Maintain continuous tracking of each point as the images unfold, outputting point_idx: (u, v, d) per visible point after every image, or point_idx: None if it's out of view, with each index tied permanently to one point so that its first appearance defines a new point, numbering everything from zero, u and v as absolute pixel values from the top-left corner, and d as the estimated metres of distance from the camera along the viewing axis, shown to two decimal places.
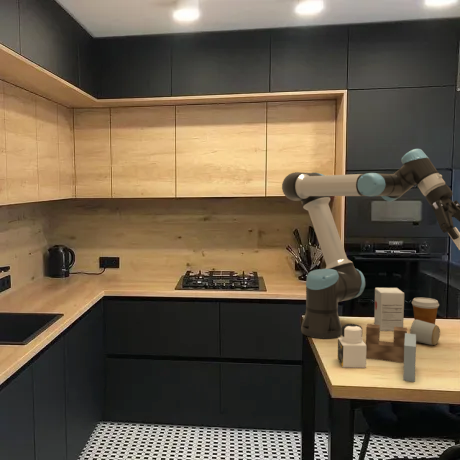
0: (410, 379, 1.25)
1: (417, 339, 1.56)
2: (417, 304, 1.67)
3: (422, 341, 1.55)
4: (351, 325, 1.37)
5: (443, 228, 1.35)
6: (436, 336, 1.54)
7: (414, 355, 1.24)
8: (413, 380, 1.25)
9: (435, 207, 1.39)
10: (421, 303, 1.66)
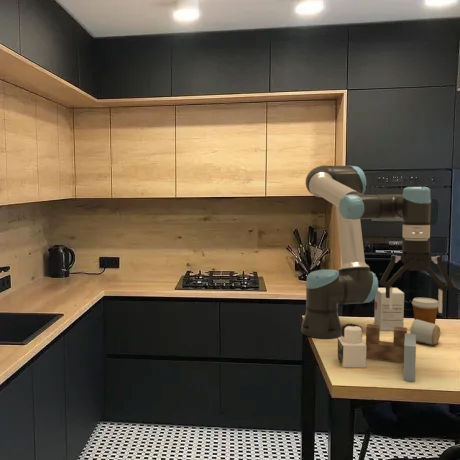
0: (410, 379, 1.25)
1: (417, 339, 1.56)
2: (417, 304, 1.67)
3: (422, 341, 1.55)
4: (351, 325, 1.37)
5: None
6: (436, 336, 1.54)
7: (414, 355, 1.24)
8: (413, 380, 1.25)
9: None
10: (421, 303, 1.66)
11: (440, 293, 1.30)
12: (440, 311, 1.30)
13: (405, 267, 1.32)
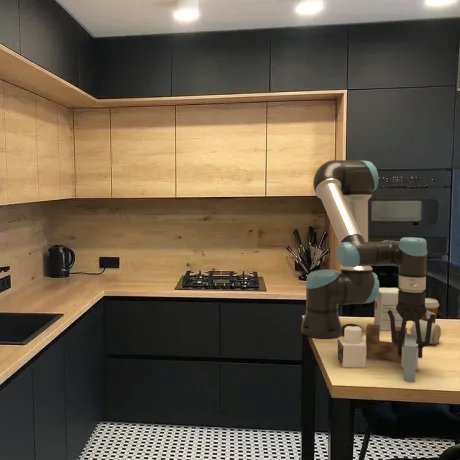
0: (410, 379, 1.25)
1: None
2: None
3: (423, 340, 1.56)
4: (351, 325, 1.37)
5: None
6: (437, 336, 1.55)
7: (414, 355, 1.24)
8: (413, 380, 1.25)
9: None
10: None
11: (416, 350, 1.32)
12: (416, 368, 1.33)
13: (404, 320, 1.33)
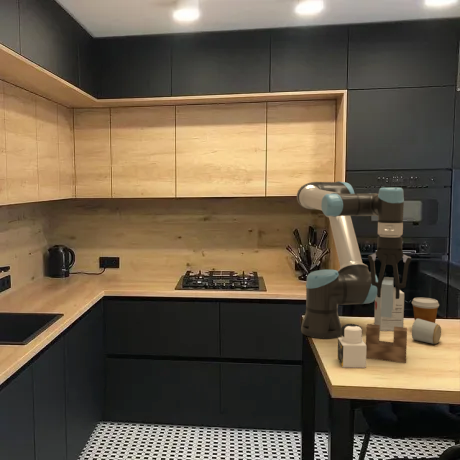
0: (387, 315, 1.36)
1: (418, 338, 1.57)
2: (417, 304, 1.67)
3: (423, 340, 1.56)
4: (351, 325, 1.37)
5: None
6: (437, 335, 1.55)
7: (390, 293, 1.35)
8: (390, 316, 1.35)
9: None
10: (421, 303, 1.66)
11: (393, 291, 1.43)
12: (393, 308, 1.44)
13: (383, 263, 1.43)
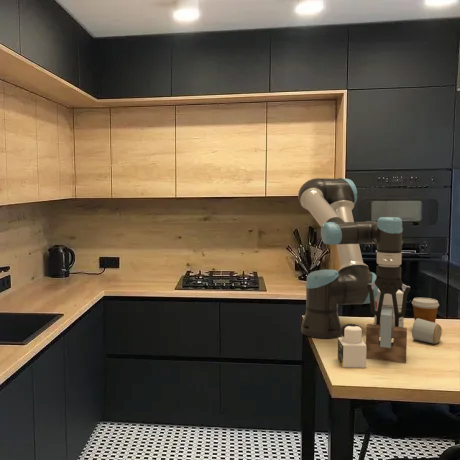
0: (386, 345, 1.36)
1: (418, 337, 1.57)
2: (417, 304, 1.67)
3: (424, 340, 1.56)
4: (351, 325, 1.37)
5: None
6: (438, 335, 1.55)
7: (390, 323, 1.36)
8: (389, 346, 1.36)
9: None
10: (421, 303, 1.66)
11: (393, 321, 1.44)
12: (393, 337, 1.44)
13: (382, 292, 1.44)
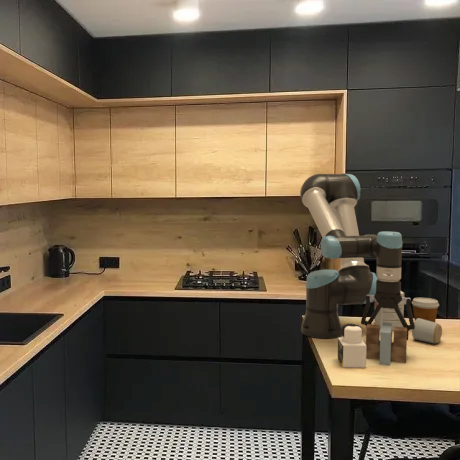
0: (386, 363, 1.37)
1: (419, 337, 1.57)
2: (417, 304, 1.67)
3: (424, 339, 1.57)
4: (351, 325, 1.37)
5: None
6: (438, 335, 1.56)
7: (389, 341, 1.36)
8: (388, 364, 1.37)
9: None
10: (421, 303, 1.66)
11: None
12: None
13: (379, 306, 1.45)
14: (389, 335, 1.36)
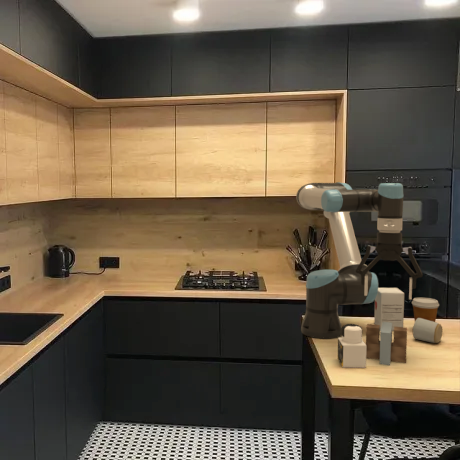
0: (386, 363, 1.37)
1: (419, 337, 1.58)
2: (417, 304, 1.67)
3: (425, 339, 1.57)
4: (351, 325, 1.37)
5: None
6: (438, 334, 1.56)
7: (389, 341, 1.36)
8: (388, 364, 1.37)
9: None
10: (421, 303, 1.66)
11: (410, 281, 1.41)
12: (410, 298, 1.42)
13: (379, 257, 1.44)
14: (389, 335, 1.36)
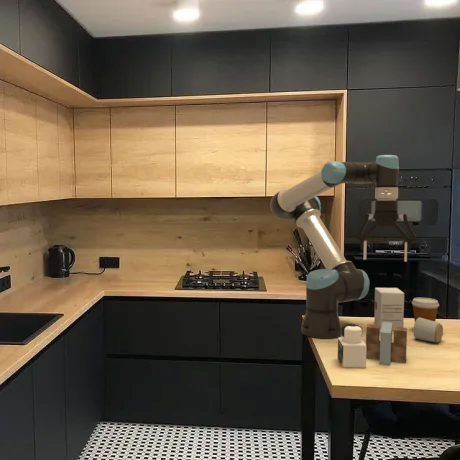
0: (386, 363, 1.37)
1: (420, 336, 1.58)
2: (417, 304, 1.67)
3: (425, 339, 1.58)
4: (351, 325, 1.37)
5: None
6: (439, 334, 1.56)
7: (389, 341, 1.36)
8: (388, 364, 1.37)
9: None
10: (421, 303, 1.66)
11: (405, 245, 1.54)
12: (405, 260, 1.55)
13: (376, 223, 1.57)
14: (389, 335, 1.36)
